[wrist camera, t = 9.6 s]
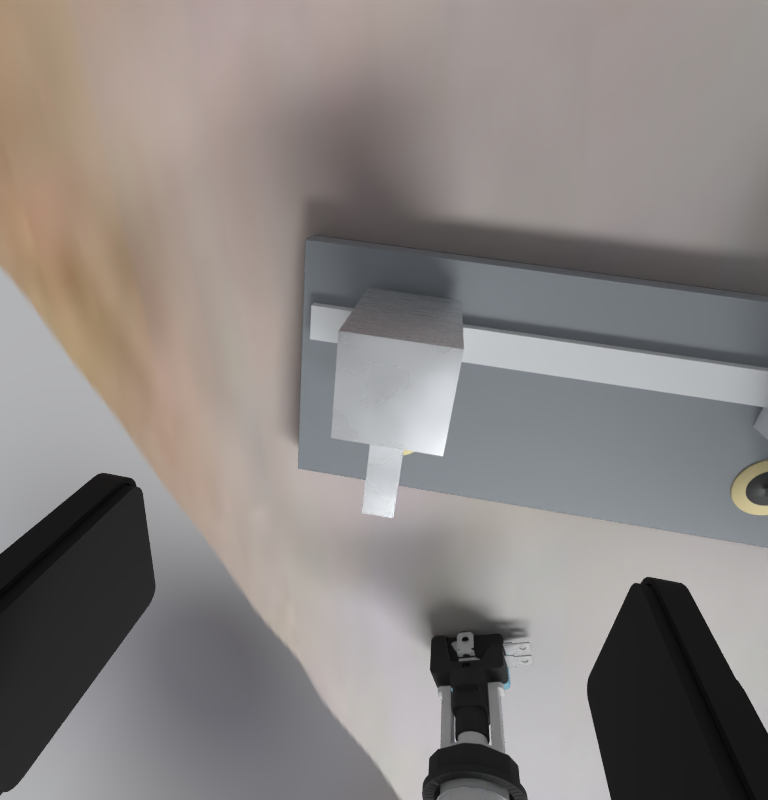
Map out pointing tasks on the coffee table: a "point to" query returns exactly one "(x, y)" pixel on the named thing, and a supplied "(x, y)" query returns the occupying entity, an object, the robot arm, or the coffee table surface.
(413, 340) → the sliding block
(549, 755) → the coffee table surface
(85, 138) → the coffee table surface
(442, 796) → the push button
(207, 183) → the coffee table surface
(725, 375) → the plate
